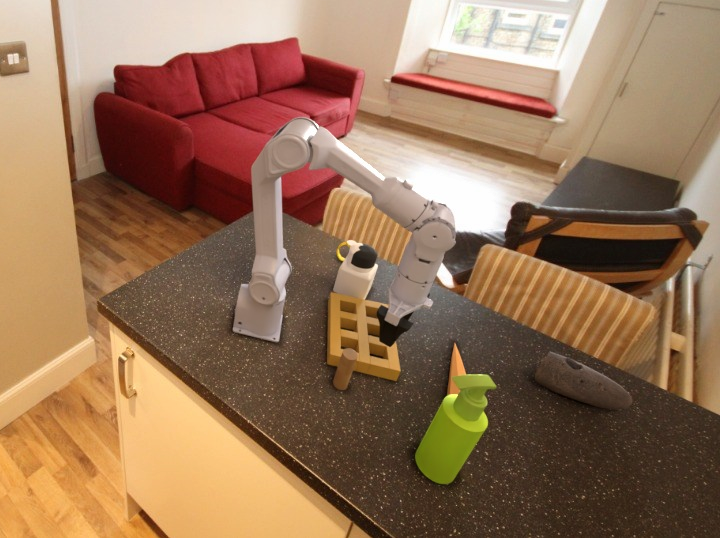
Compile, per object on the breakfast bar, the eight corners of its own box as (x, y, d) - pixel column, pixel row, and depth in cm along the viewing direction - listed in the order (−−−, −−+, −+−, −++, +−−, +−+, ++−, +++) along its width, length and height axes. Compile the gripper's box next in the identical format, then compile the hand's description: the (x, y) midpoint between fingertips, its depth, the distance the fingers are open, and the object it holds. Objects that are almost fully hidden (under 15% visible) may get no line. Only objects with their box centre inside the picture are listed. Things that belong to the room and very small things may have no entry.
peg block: (327, 364, 85) (330, 354, 84) (328, 301, 101) (330, 291, 100) (396, 381, 83) (400, 371, 82) (386, 314, 99) (390, 304, 97)
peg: (332, 388, 81) (342, 357, 77) (332, 376, 83) (342, 346, 79) (347, 391, 80) (358, 361, 76) (347, 380, 83) (357, 350, 79)
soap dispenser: (402, 447, 72) (444, 362, 62) (442, 445, 73) (490, 361, 63) (420, 485, 67) (469, 399, 57) (462, 483, 68) (518, 398, 58)
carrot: (463, 428, 76) (483, 415, 74) (440, 410, 77) (459, 397, 75) (456, 354, 93) (472, 342, 91) (437, 341, 94) (453, 328, 92)
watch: (333, 260, 115) (338, 241, 112) (336, 254, 117) (341, 236, 114) (356, 268, 112) (362, 249, 109) (359, 263, 114) (365, 244, 111)
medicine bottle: (370, 288, 106) (384, 247, 100) (362, 304, 101) (376, 262, 95) (341, 276, 109) (353, 235, 103) (332, 291, 104) (344, 250, 98)
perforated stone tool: (619, 405, 82) (640, 380, 79) (625, 427, 78) (647, 402, 75) (526, 366, 89) (541, 342, 85) (527, 385, 85) (543, 360, 81)
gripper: (428, 306, 67) (401, 367, 74) (452, 264, 77) (427, 321, 84) (382, 284, 71) (361, 344, 77) (411, 246, 81) (390, 302, 87)
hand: (392, 331), depth 81 cm, fingers open, 7 cm apart
